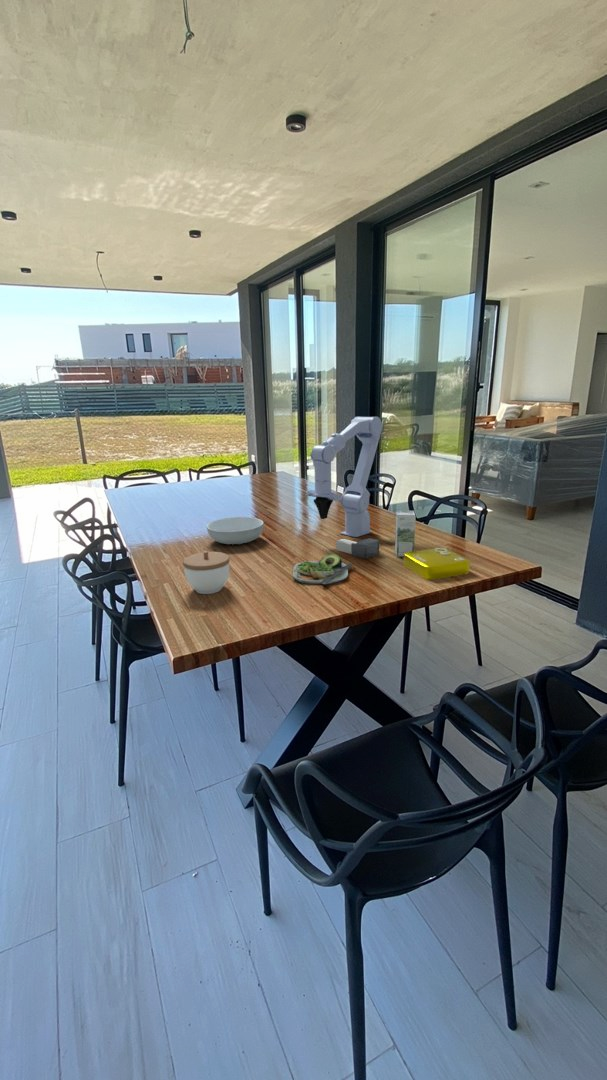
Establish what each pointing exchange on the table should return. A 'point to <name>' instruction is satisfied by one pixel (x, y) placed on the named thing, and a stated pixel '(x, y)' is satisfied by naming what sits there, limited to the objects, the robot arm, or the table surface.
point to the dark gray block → (365, 548)
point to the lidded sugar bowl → (207, 571)
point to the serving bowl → (235, 530)
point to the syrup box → (404, 532)
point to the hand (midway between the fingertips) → (323, 518)
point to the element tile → (436, 563)
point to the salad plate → (322, 570)
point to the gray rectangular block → (344, 545)
